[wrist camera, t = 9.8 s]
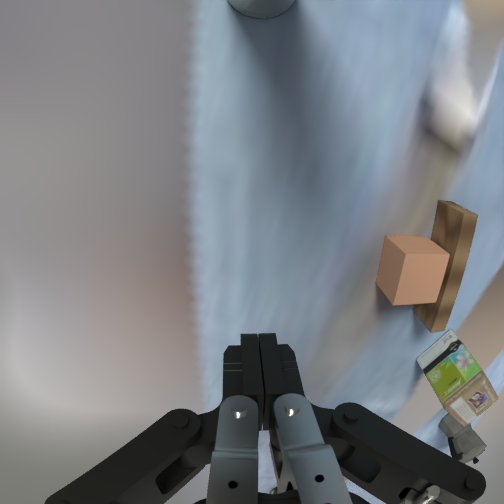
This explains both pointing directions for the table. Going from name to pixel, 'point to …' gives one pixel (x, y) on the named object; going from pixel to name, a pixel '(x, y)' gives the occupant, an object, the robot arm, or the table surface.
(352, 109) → the table surface
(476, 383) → the tea box
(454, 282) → the walnut board
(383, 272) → the terracotta block
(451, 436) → the coffeepot
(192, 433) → the robot arm
